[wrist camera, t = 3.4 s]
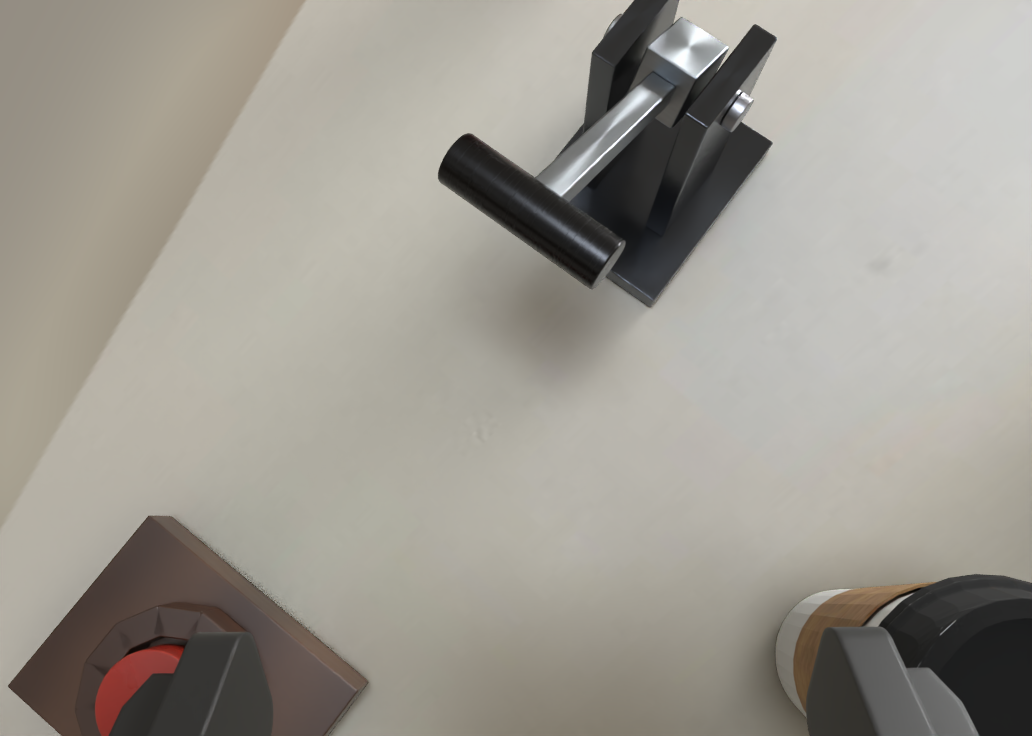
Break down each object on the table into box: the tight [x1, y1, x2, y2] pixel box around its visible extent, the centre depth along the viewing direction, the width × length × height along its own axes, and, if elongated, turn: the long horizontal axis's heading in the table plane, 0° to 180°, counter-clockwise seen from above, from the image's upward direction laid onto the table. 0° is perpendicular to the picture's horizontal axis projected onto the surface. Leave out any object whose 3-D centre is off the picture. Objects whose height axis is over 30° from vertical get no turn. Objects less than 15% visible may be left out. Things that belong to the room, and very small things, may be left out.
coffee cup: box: [775, 574, 1032, 736], centre depth 28 cm, size 8×8×15 cm
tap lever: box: [438, 17, 729, 289], centre depth 28 cm, size 12×6×2 cm, turn 143°
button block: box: [8, 516, 368, 736], centre depth 34 cm, size 12×9×4 cm
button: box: [95, 644, 185, 736], centre depth 32 cm, size 4×4×2 cm
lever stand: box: [556, 0, 777, 307], centre depth 35 cm, size 10×8×12 cm
